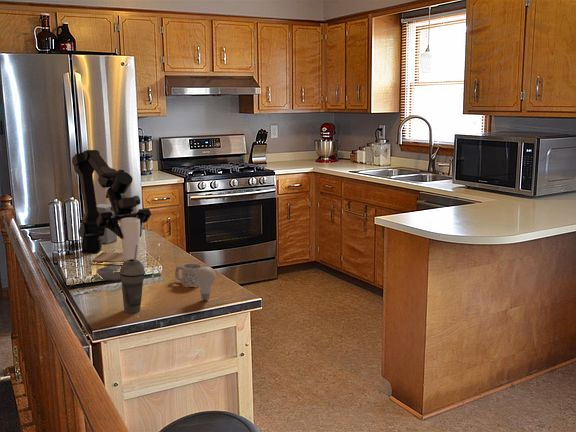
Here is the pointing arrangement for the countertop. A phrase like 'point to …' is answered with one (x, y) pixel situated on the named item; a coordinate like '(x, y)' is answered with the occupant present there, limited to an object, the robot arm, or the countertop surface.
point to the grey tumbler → (130, 237)
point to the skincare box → (108, 234)
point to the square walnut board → (109, 257)
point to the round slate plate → (109, 273)
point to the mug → (188, 274)
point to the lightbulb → (205, 281)
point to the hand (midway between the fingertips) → (131, 237)
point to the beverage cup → (132, 284)
